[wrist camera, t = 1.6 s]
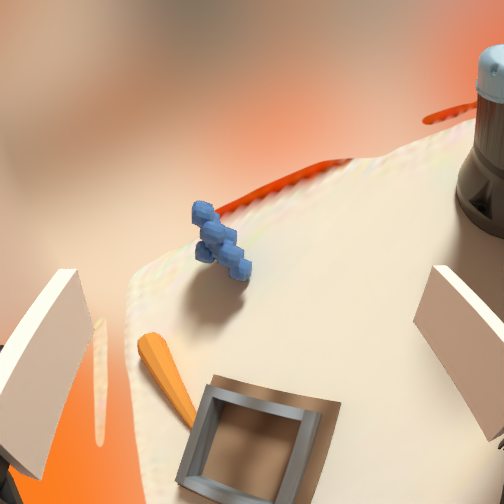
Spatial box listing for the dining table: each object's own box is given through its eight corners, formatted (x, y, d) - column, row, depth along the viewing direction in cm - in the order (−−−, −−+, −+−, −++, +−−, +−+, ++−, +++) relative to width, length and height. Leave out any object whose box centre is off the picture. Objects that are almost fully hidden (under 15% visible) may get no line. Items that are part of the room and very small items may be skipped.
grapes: (203, 254, 50) (161, 207, 41) (237, 230, 50) (201, 179, 41) (230, 308, 43) (183, 265, 33) (271, 281, 42) (234, 229, 33)
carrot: (152, 346, 45) (128, 346, 42) (165, 327, 44) (140, 326, 41) (218, 457, 34) (193, 467, 30) (237, 443, 33) (212, 454, 29)
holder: (341, 403, 30) (336, 399, 27) (300, 528, 23) (289, 539, 19) (217, 375, 38) (199, 367, 34) (182, 483, 30) (160, 485, 27)
